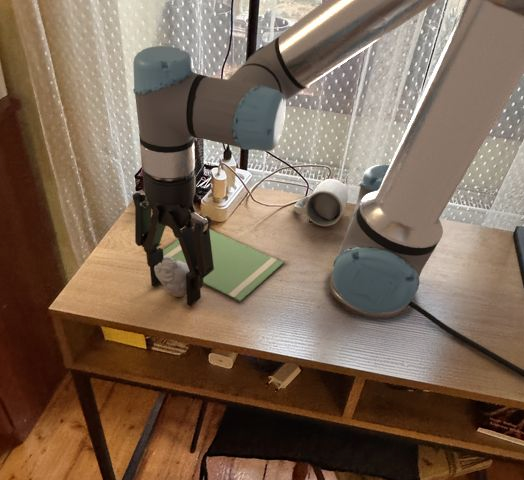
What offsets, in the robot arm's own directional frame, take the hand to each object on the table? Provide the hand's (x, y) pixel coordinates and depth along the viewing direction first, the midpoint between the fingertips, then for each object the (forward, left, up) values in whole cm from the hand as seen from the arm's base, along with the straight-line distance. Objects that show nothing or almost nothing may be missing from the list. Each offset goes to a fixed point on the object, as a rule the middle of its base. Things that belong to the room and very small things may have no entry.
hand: (175, 291), depth 94 cm
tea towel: (0, -12, 0) cm, 12 cm away
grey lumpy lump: (0, 0, -1) cm, 1 cm away
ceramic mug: (-7, -38, -1) cm, 39 cm away
